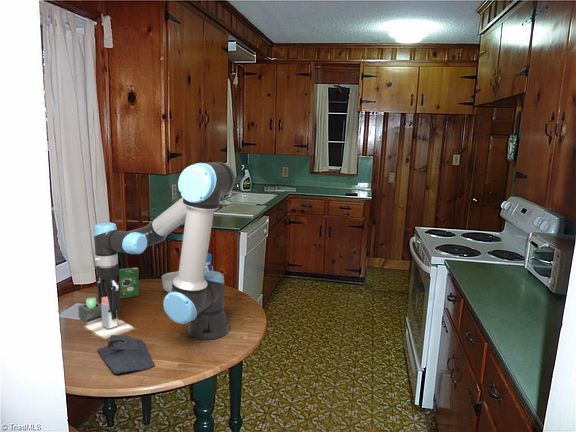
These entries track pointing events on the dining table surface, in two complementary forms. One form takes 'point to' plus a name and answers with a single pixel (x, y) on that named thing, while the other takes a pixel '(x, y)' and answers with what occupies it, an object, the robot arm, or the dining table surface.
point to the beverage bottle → (208, 264)
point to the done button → (91, 302)
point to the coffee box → (128, 282)
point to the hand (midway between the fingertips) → (110, 324)
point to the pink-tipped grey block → (105, 312)
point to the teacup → (168, 280)
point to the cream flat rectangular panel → (103, 332)
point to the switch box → (90, 312)
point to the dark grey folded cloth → (126, 354)
